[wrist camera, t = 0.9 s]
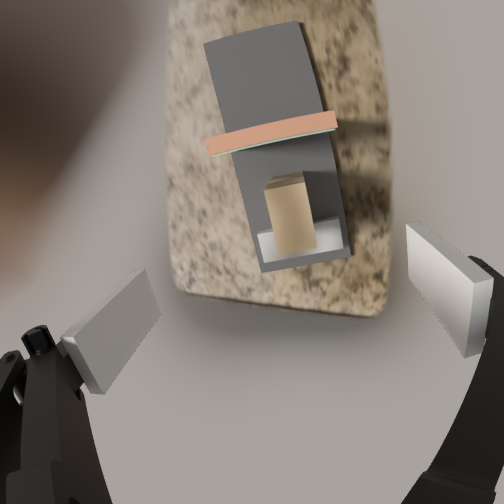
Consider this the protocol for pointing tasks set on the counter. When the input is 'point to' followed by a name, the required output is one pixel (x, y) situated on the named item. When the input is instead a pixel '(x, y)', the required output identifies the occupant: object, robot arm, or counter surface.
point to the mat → (271, 110)
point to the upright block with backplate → (295, 222)
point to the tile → (271, 133)
